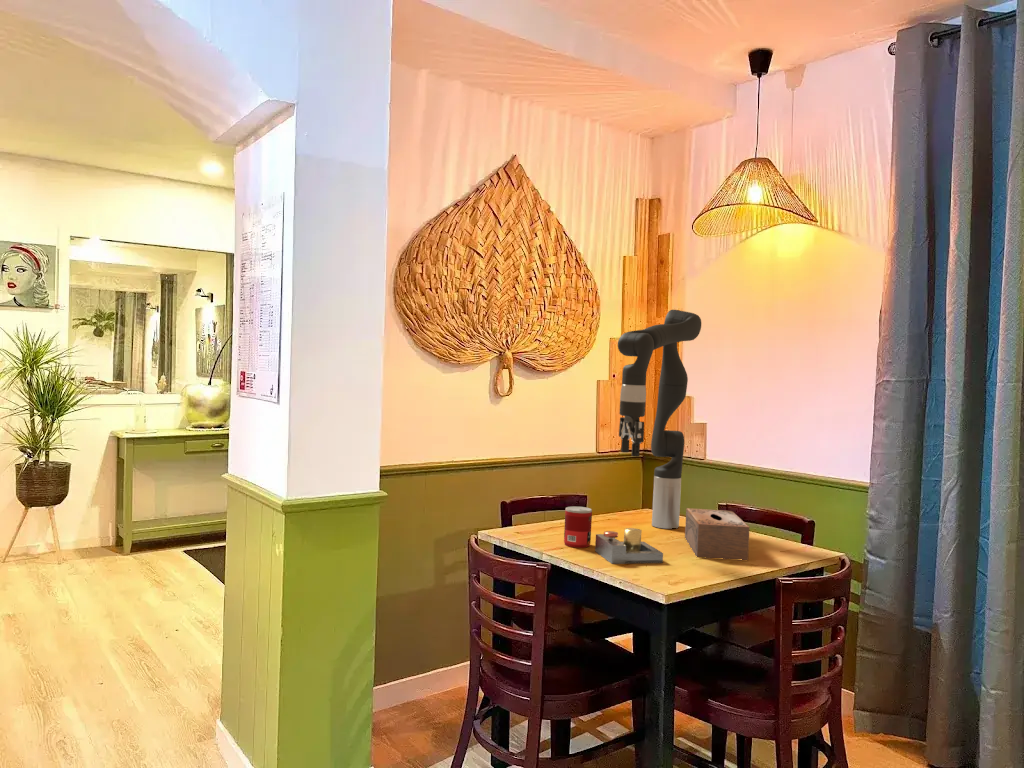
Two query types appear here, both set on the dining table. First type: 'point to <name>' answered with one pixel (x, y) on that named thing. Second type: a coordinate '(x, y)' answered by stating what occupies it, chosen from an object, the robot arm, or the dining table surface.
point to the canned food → (577, 527)
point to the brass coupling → (632, 539)
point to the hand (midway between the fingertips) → (630, 454)
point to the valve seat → (624, 550)
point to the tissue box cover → (717, 534)
